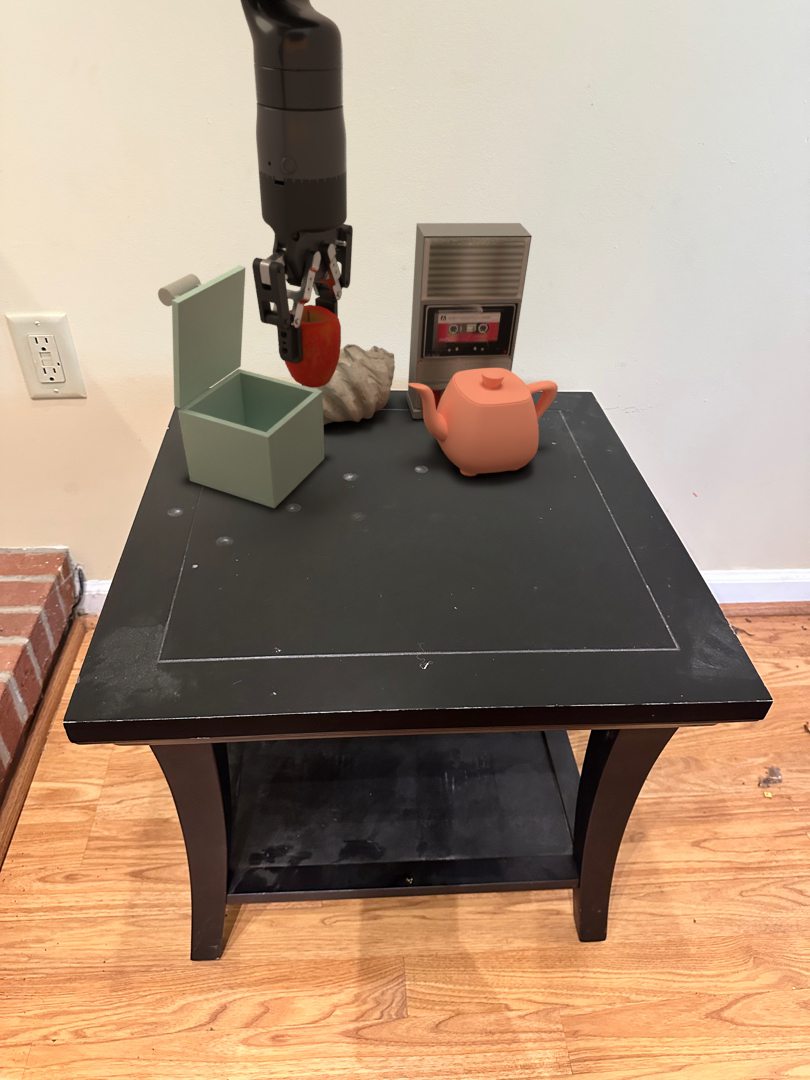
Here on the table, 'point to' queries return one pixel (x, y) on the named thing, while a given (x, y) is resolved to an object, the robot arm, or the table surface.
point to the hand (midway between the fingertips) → (309, 347)
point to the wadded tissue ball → (358, 384)
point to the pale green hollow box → (253, 436)
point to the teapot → (486, 419)
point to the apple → (317, 347)
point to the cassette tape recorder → (464, 301)
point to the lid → (205, 330)
